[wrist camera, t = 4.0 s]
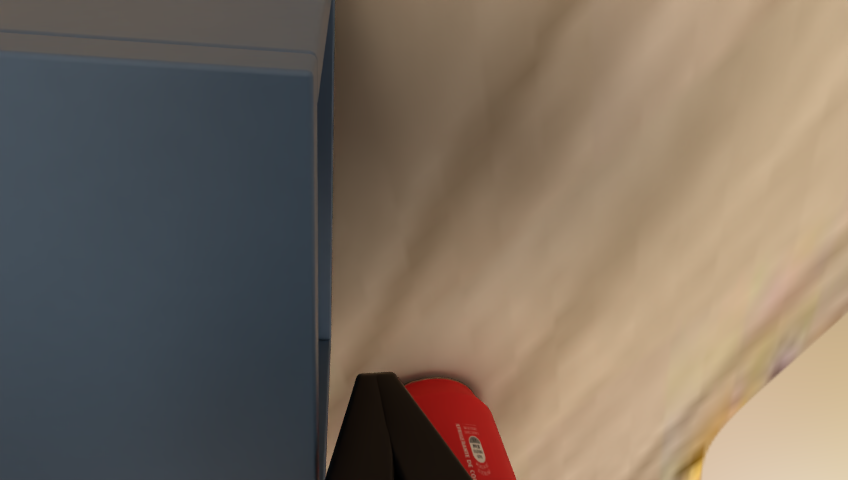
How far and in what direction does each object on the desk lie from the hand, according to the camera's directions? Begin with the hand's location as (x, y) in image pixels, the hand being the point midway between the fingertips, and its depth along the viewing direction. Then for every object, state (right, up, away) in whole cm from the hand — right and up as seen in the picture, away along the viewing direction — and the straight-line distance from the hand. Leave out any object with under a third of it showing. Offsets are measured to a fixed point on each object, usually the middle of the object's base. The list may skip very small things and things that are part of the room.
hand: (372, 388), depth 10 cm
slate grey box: (-5, +4, +5) cm, 8 cm away
